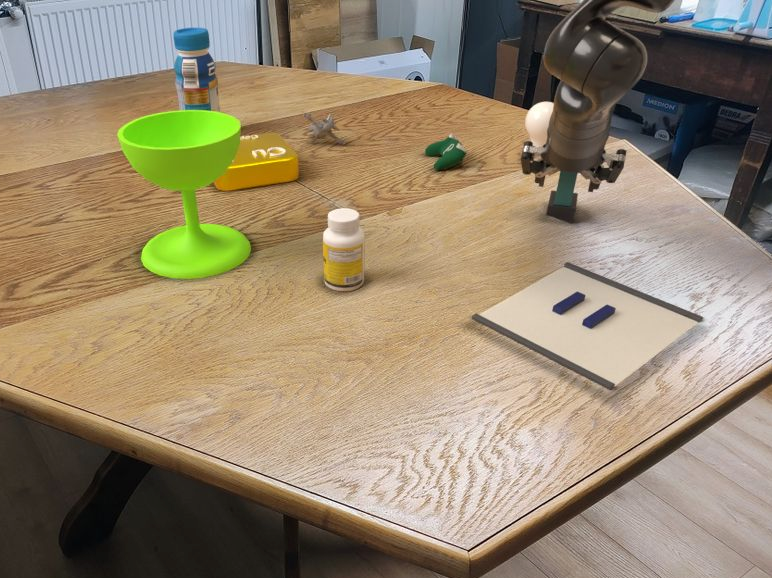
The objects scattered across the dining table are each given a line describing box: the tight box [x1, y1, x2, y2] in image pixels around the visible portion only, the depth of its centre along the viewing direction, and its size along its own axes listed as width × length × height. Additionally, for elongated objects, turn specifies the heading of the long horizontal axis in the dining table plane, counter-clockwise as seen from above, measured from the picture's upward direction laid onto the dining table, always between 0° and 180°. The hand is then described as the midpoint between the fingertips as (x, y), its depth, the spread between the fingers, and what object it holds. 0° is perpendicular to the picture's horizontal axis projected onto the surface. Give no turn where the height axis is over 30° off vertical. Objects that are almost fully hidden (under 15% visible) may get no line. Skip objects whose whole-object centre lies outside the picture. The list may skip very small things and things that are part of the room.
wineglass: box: [117, 109, 252, 280], centre depth 94 cm, size 16×16×18 cm
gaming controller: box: [424, 132, 468, 172], centre depth 125 cm, size 9×4×6 cm
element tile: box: [212, 132, 300, 192], centre depth 123 cm, size 15×15×5 cm
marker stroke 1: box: [552, 292, 586, 315], centre depth 83 cm, size 5×1×1 cm, turn 129°
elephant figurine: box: [303, 111, 346, 146], centre depth 135 cm, size 10×6×9 cm
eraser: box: [545, 171, 579, 224], centre depth 104 cm, size 6×4×8 cm, turn 159°
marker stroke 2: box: [582, 305, 616, 329], centre depth 80 cm, size 5×1×1 cm, turn 129°
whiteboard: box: [471, 261, 704, 391], centre depth 81 cm, size 20×18×2 cm
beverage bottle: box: [172, 27, 221, 112], centre depth 136 cm, size 8×8×20 cm
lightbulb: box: [524, 101, 554, 161], centre depth 120 cm, size 6×6×11 cm
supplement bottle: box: [322, 207, 366, 292], centre depth 88 cm, size 5×5×10 cm
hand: (566, 183), depth 105 cm, fingers open, 6 cm apart
